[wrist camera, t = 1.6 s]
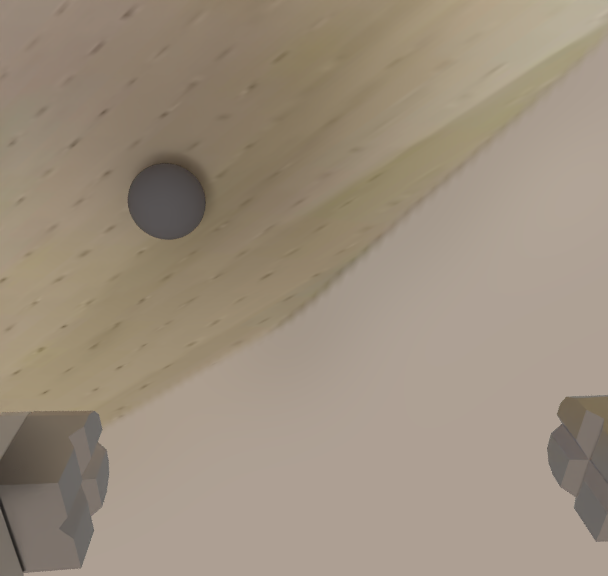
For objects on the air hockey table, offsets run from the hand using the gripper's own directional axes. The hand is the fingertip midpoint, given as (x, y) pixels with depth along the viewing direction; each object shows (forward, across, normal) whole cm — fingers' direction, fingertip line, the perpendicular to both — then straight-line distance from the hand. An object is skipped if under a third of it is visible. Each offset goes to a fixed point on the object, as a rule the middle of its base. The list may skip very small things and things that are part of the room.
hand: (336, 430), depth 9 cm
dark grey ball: (+27, +8, +4) cm, 28 cm away
